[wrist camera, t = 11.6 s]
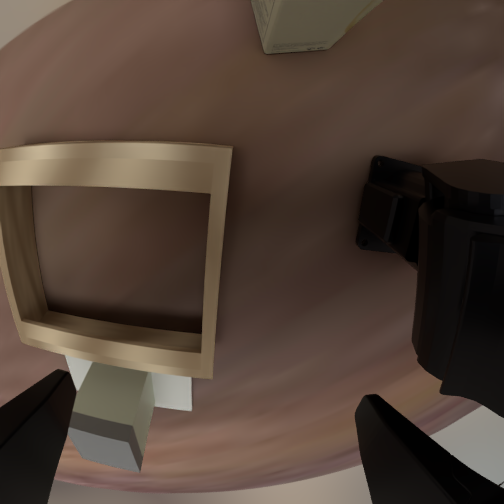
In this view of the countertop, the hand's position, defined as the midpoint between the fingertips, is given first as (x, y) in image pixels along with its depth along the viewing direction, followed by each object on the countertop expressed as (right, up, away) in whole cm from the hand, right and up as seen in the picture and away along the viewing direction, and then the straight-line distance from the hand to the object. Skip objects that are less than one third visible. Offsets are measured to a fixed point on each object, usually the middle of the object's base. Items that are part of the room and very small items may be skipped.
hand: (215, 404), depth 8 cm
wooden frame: (-9, +5, +12) cm, 15 cm away
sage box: (-10, -7, +16) cm, 20 cm away
